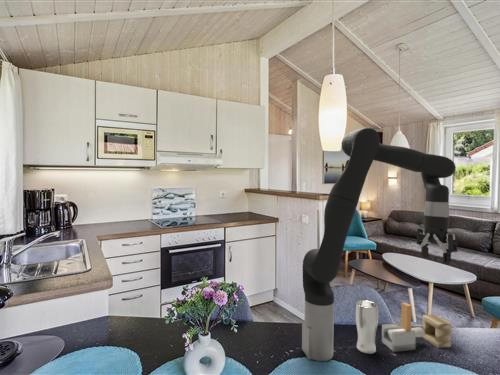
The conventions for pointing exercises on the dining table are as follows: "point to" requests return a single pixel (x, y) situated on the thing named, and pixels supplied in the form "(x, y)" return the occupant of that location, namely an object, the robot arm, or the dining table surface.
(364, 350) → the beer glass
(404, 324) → the hammer
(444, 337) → the socket
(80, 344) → the dining table surface
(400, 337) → the gray u-shaped block
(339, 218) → the robot arm
